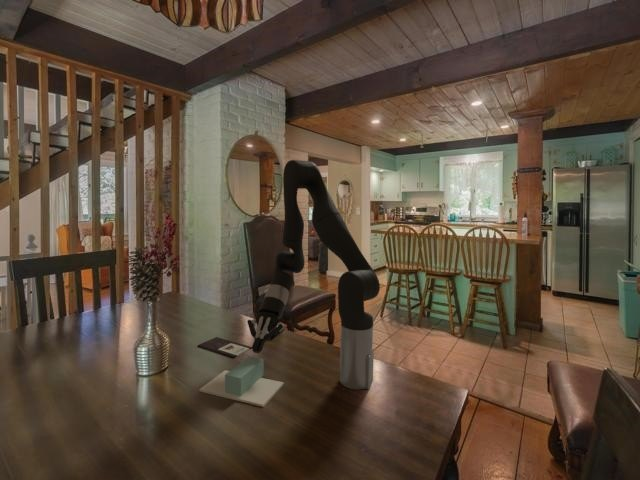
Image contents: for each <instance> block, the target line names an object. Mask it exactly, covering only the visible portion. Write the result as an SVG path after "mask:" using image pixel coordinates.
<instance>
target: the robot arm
mask: <svg viewBox="0 0 640 480" xmlns="http://www.w3.org/2000/svg"><path fill="white" fill-rule="evenodd" d="M282 173H283V176H282V183H283V204H284V206H283V207H284V222H283V224H284V225H283V231H282V233H283V234H282V245H283V246H284V247H287V248H288V249H290V250H291V251H287V250H281V251H279V252H278V253H277V254H276V256H275V259H274V260H275V261H274V263H275V264H274V272H273V276H272V280H271V281H270V284H269V287H267V288H268V289H267V290H266V292H265V295H264V298H263V299H262V302H261V305H260V307H259V312H257V315H256V316H255V317H254V318H253V319H248V320H247V326H248V329H249V332H250V335H251V336H252V338H254V341H253V343H252V345H251V347H252V349H251V350H252V351H253V353H255V354H260V352H262V351H263V348H264V346H265V343H266V342H268V341H269V342H272V341H273V340H274V339H275V338H276V337H278V336H279V335H281V334H282V333H283V332H284V331H285V329H286V328H285V327H284V325H283V324H281V322H282V320H281V318H282V317H283V314H284V311H285V309H286V305H287V304H288V299H289V296H290V295H289V294H290V291H291V288H292V286H293V284H294V279H293V276H291V274H289V273H292V274H293V273H295V274H299V273H301V272H302V271H303V270H304V268H305V256H304V250H303V238H304V237H303V236H304V230H305V222H304V217H303V215H302V213H301V210H300V207H299V204H298V190H299V189H301V190H302V189H305V190H307V192H308V193H309V195H310V198H311V199H312V202H313V206H312V213H311V222H312V226H313V228H314V230H315V232H316V235H317V236H318V239H319V240H320V241H321V243H322V245H324V246H325V248H327V249H328V250H330V252H331V253H333V254H334V255H335V256H337V257H338V258H339V260H341V261H342V263H343V264H344V266H345V268H346V269H347V271H345V272H344V273H342V274H341V276H340V277H339V280H338V284H337V285H338V286H337V300H338V301H337V302H338V303H337V304H338V306H337V307H338V308H337V309H338V314H339V317H340V350H339V351H340V352H339V353H340V357H339V358H340V359H339V361H340V362H339V364H340V365H339V382H340V384H341V385H342V386H343V387H345V388H348V389H351V390H357V391H358V390H370V387H371V385H372V382H373V380H374V354H375V353H374V352H375V351H374V348H373V340H374V339H373V338H374V337H373V336H374V334H373V333H374V316H373V315H372V314H371V313H369V312H366V311H365V302H366V301H369V300H373V299H375V298H377V296H378V294H379V293H380V290H381V285H380V281H379V277H378V276H377V274H376V272H375V271H374V269H373V267H372V266H371V264H370V263H369V262H368V261H367V259H366V258H365V256H364V255H363V253H362V251H361V250H360V248H359V246H358V245H357V243H356V241H355V239H354V238H353V235H352V234H351V232H350V230H349V229H348V226H347V225H346V222H345V221H344V218H343V216H342V215H341V213H340V212H339V210H338V208H337V206H336V204H335V203H334V200H333V199H332V196H331V195H330V192H329V191H328V188H327V185H326V184H325V181H324V178H323V176H322V174H321V171H320V168H318V166H317V164H316V163H314V162H313V161H308V160H301V159H300V160H299V159H292V160H288V161H287V162H286V163H285V166H284V169H283V172H282ZM287 272H288V273H287Z"/></svg>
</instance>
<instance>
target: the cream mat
mask: <svg viewBox="0 0 640 480" xmlns="http://www.w3.org/2000/svg"><path fill="white" fill-rule="evenodd" d="M229 371H230V370H227V369H226V370H225V369H224V370H223V371H222V372H220V374H218V375H217V376H216V377H214V378H212V379H211V380H210V381H208V382H207V383H206V384H205V385H203V386H202V387H200V388H199V390H198V391H199V392H201V393H204V394H208V395H213V396H217V397H222V398H225V399H229V400H233V401H238V402H242V403H246V404H249V405H253V406H258V407H262V408H264V407H265V406H266V405H268V403H269V402H270V401H271V400H272V398H273V397H274V396H276V394H277V393H278V392H279V390H281V388H282V387H283V386H284V384H285V383H284V382H283V381H280V380H274V379H268V378H263V377H261V378H260V379H259V380H258V381H257V382H256V383H255V384H254V385H252V386H251V387H250V388H249V389H248V390H247V391H246V392H245V393H244V394H243V395H242V396H238V395H234V394H230V393H225V374H227V373H228V372H229Z"/></svg>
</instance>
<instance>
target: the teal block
mask: <svg viewBox="0 0 640 480" xmlns="http://www.w3.org/2000/svg"><path fill="white" fill-rule="evenodd" d="M264 362H265V361H264V359H263V358H259V357H255V356H247V357H246V358H244V359H243V360H242V361H241V362H240V363H238V364H237V365H236V366H234V367H233V368H232V369H230V370H228V371H229V372H228V373H227V374H225V393H230V394H234V395H238V396H242V395H243V394H244V393H245V392H246V391H247V390H248V389H249V388H250V387H251V386H252V385H254V384H255V383H256V382H257V381H258V380H259V379H260V378H263V376H264V375H265V373H264Z"/></svg>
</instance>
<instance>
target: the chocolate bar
mask: <svg viewBox="0 0 640 480" xmlns="http://www.w3.org/2000/svg"><path fill="white" fill-rule="evenodd" d="M197 347H198V348H201V349H204V350H207V351H210V352H214V353H215V354H216V353H217V354H219V355H223V356H227V357H229V358H232V359H235V358H237V357H238V356H240V355H243V354H245V353H247V352H249V351H251V350H253V349H252V346H249V345H246V344H243V343H239V342H235V341H232V340H229V339H224V338H222V337H217V336H216V337H214V338H210V339H209V340H206V341H204V342H201V343H199V344H197Z"/></svg>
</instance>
